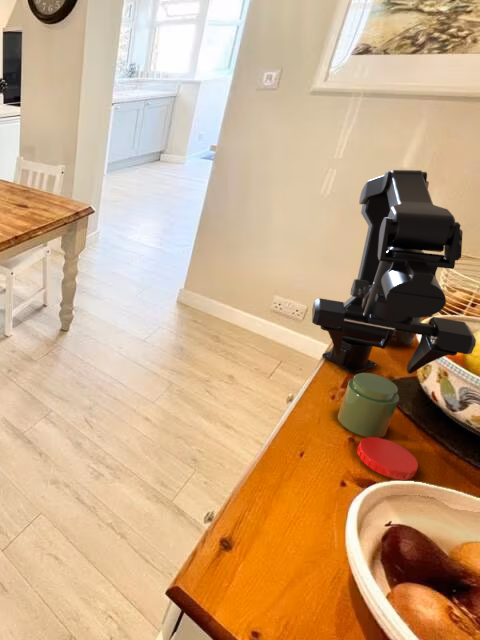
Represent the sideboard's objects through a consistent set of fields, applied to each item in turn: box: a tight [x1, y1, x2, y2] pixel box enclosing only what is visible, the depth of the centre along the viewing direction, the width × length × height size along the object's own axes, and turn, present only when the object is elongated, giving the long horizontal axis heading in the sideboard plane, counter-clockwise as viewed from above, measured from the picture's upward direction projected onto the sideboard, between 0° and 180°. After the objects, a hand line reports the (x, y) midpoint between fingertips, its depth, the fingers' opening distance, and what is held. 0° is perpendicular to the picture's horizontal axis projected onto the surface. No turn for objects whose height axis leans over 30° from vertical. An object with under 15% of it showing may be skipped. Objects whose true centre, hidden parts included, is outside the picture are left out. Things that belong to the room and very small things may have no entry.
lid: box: [356, 437, 419, 481], centre depth 66 cm, size 7×7×2 cm
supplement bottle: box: [386, 317, 423, 349], centre depth 90 cm, size 7×7×12 cm
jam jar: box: [337, 372, 400, 438], centre depth 71 cm, size 6×6×10 cm
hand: (371, 363), depth 71 cm, fingers open, 9 cm apart
